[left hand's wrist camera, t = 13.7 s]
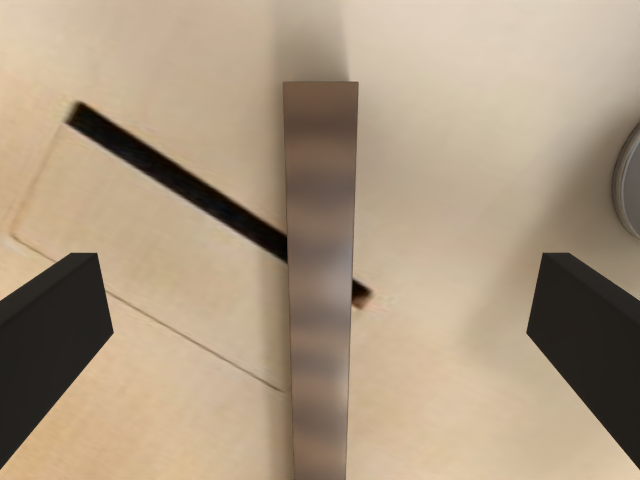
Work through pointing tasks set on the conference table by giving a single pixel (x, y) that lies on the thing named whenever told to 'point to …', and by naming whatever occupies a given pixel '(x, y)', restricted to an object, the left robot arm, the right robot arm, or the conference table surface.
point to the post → (320, 268)
